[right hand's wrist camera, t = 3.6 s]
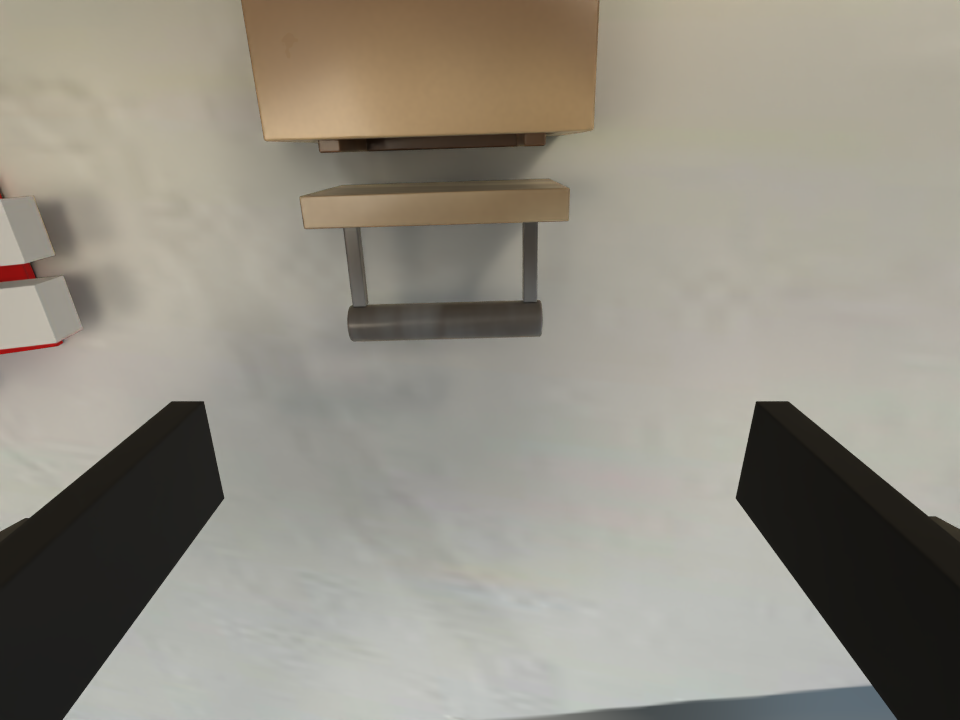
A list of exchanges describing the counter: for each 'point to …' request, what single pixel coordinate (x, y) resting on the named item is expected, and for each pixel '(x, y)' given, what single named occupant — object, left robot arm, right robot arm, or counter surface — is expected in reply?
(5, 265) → the toy
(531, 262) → the drawer
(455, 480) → the counter surface
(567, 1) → the wooden drawer box
